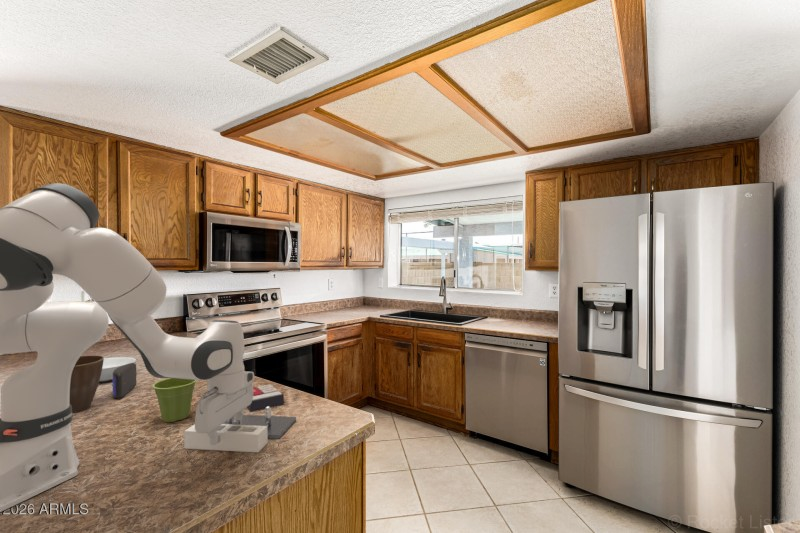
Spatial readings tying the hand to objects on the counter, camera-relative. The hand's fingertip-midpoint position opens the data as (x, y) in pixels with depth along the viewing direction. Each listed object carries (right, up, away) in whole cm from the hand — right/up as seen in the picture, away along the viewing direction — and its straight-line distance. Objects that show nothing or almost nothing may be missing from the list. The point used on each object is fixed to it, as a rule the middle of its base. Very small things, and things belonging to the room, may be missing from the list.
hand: (226, 435), depth 96 cm
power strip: (0, -3, +1) cm, 3 cm away
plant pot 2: (-25, -3, +19) cm, 31 cm away
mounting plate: (+1, -3, +12) cm, 12 cm away
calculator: (-3, -4, +32) cm, 33 cm away
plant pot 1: (-62, -4, +26) cm, 67 cm away
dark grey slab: (-57, -4, +42) cm, 71 cm away
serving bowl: (-78, -4, +59) cm, 98 cm away
